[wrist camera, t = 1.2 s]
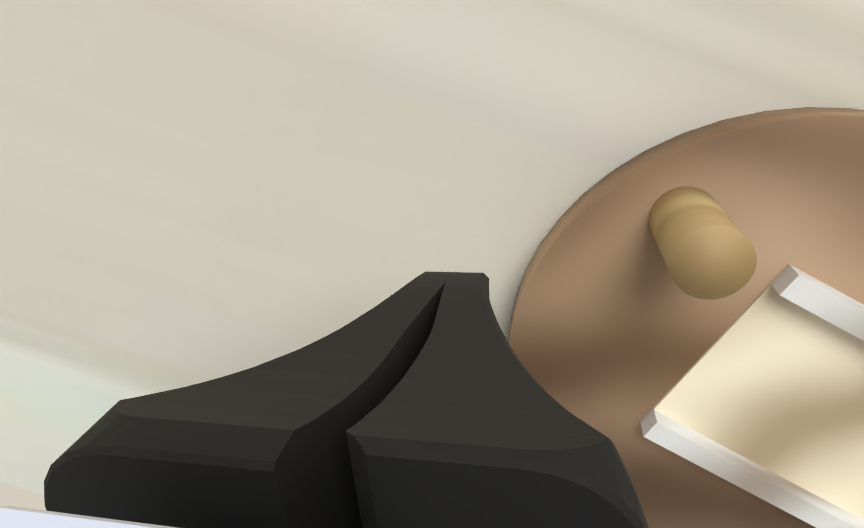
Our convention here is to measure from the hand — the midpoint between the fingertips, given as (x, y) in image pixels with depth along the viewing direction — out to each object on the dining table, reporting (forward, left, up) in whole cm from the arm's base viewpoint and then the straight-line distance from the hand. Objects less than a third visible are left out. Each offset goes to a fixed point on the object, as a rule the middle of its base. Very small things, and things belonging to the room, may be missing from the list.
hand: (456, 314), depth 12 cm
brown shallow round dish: (-7, -9, -9) cm, 15 cm away
